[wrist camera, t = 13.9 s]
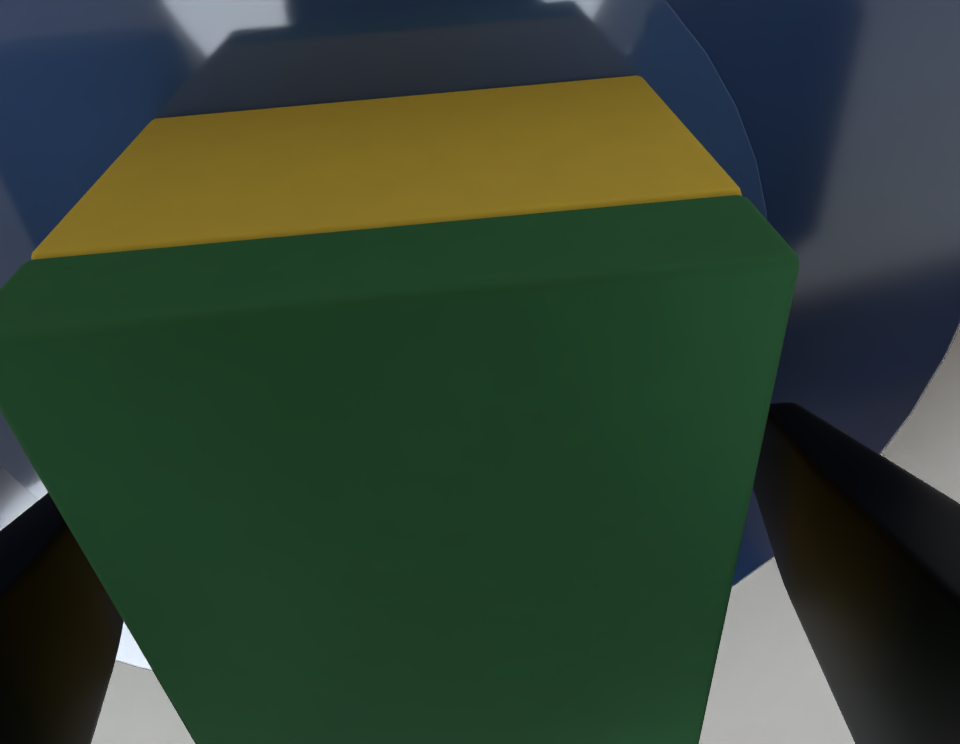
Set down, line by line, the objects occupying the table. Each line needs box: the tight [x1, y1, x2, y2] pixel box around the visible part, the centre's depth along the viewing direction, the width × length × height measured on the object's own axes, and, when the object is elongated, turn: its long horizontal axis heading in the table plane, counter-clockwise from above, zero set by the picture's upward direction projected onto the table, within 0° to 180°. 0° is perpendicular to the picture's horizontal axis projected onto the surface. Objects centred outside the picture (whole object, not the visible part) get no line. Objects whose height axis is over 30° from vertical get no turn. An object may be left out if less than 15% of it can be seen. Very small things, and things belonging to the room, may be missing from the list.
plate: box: [0, 0, 960, 671], centre depth 10 cm, size 16×16×1 cm
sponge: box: [0, 75, 799, 744], centre depth 8 cm, size 8×5×4 cm, turn 4°
